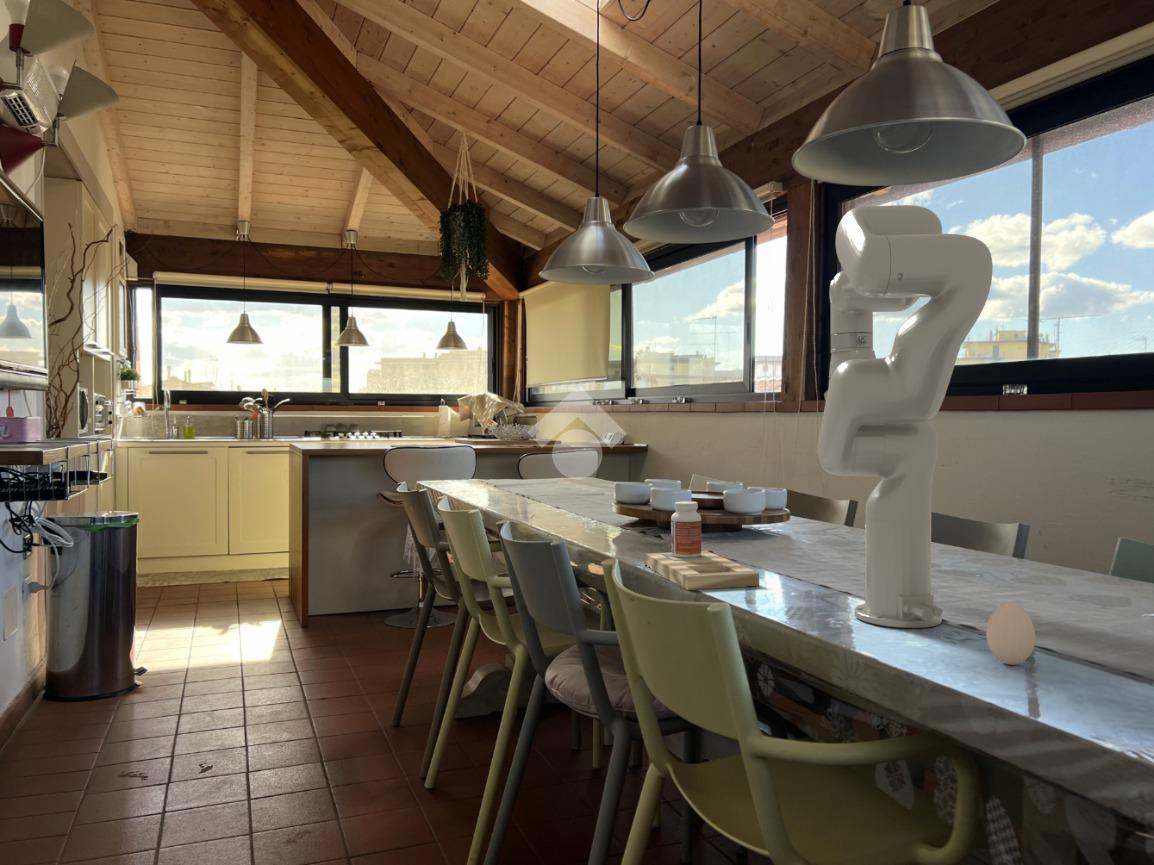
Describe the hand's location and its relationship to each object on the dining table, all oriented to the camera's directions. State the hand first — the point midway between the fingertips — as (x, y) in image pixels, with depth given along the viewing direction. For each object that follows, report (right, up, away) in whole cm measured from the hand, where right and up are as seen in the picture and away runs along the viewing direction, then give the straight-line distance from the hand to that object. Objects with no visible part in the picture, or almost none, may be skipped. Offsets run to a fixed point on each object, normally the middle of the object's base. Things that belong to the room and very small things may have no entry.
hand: (851, 436), depth 156 cm
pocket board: (-28, -28, +9) cm, 40 cm away
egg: (+3, -29, -50) cm, 58 cm away
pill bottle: (-29, -25, +16) cm, 41 cm away
